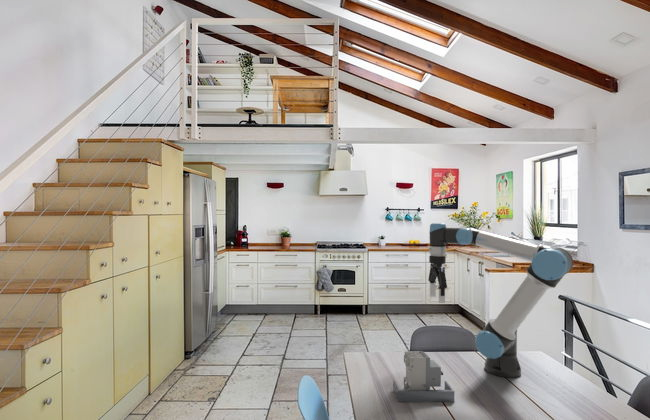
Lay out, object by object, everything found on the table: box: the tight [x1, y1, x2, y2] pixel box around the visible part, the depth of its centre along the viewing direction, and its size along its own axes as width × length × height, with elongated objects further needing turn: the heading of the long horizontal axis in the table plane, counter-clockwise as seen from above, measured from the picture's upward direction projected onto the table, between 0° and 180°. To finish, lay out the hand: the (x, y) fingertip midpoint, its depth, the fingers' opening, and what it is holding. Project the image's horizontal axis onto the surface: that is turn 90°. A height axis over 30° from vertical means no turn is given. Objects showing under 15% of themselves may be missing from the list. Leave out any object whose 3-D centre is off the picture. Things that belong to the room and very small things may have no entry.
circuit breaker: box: [403, 350, 444, 390], centre depth 150 cm, size 8×14×15 cm, turn 95°
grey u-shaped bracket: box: [392, 380, 455, 403], centre depth 146 cm, size 22×9×4 cm, turn 91°
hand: (437, 299), depth 180 cm, fingers open, 13 cm apart
